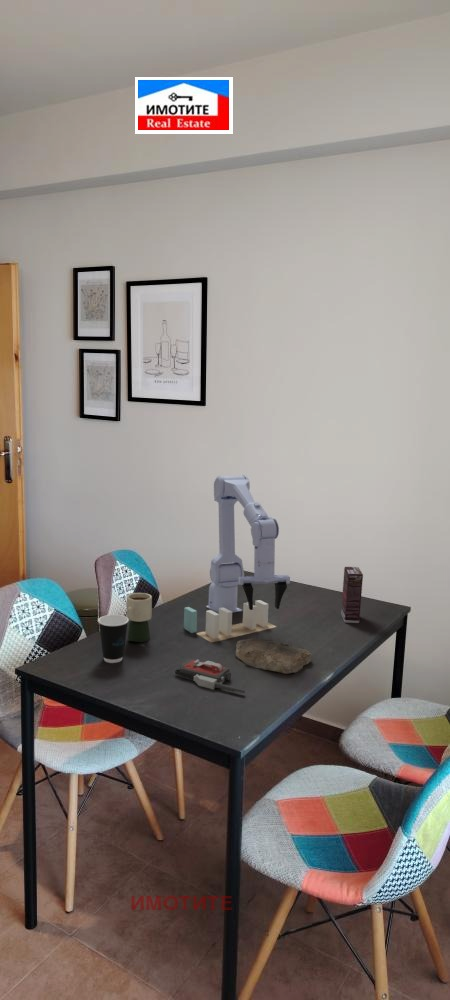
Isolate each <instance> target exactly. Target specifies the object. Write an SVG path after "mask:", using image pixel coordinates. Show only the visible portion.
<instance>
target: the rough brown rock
mask: <svg viewBox="0 0 450 1000" xmlns="http://www.w3.org/2000/svg"><path fill="white" fill-rule="evenodd" d="M235 648H236V649H235V655H236V657H237V659H239V660H240V661H242V662H243V664H244V665H247V666H249V667H252V668H256V669H261V670H264V671H271V672H276V673H277V672H278V673H279V674H286V675H287V674H295V673H297V672H299V671H301V670H303V667H304V666H307V665H308V664H309V663H311V662H312V656H313V654H312V652H311V651H309V650H307V649H306V648H300V647H296V646H291V645H289V644H286V643H281V642H276V641H267V640H263V639H257V638H245V639H240V640H238V641H237V642H236V645H235Z"/></svg>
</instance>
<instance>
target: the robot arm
mask: <svg viewBox="0 0 450 1000" xmlns="http://www.w3.org/2000/svg"><path fill="white" fill-rule="evenodd" d="M250 487H251V486H250V480H249V478H248V477H247V475H245V474H244V475H243V474H242V475H224V476H221V475H218V476H217V477H216V478H215V479H214V482H213V498H214V501H215V502H216V503H217V504H218V538H219V539H218V547H219V548H218V550H219V553H217V554H216V555H215V557H213V558H212V559H211V560H210V569H209V579H210V580H211V583H210V585H209V588H208V605H206V606H205V607H206V608H207V609H210V610H212V611H214V612H216V613H218V614H219V608H223V607H224V608H226V609H228V610H230V611H232V614H233V613H236V612H243V609H241V608H239V607H238V587H239V586H241V587H242V590H243V591H244V593H245V596H246V599H247V602H248V605H249V609H250V610H253V605H254V603H253V600H254V599H253V597H254V596H253V595H254V586H253V585H261V584H262V585H263V584H264V585H265V584H267V585H268V584H274V591H275V592H274V593H275V594H274V595H275V596H274V597H275V598H274V607H275V609H277V610H280V605H281V601H282V598H283V596H284V593H285V591H286V590H287V589H288V585H287V584H290V583H291V576H290V575H289V574H288V575H287V574H285V575H284V574H283V575H280V574H275V565H276V563H275V558H276V557H275V554H276V553H275V552H276V551H275V548H276V547H275V546H276V545H275V542H276V539H277V538H278V536H279V533H280V527H279V523H278V521H277V519H276V518H273V517H272V516H270V517H269V515H268V514H267V512H266V510H264V508H263V506H262V504H260V503H259V502H255V500H254V498H253V495H252V494H251V491H250ZM237 502H239V504H240V505H241V506H242V508H243V511H242V512H243V516H244V517H245V519H246V520H247V521H246V522H248V524H249V526H250V534H251V538H252V545H253V547H254V556H253V557H254V561H253V562H254V566H253V568H254V569H253V571H254V573H253V575H248V576H245V570H244V569H245V568H244V566H243V565H244V564H243V560H242V558H241V557H239V556H238V555H237V554H236V547H235V546H236V540H235V539H236V538H235V535H236V534H235V532H236V531H235V529H236V528H235V504H236V503H237Z"/></svg>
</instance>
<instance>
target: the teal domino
mask: <svg viewBox="0 0 450 1000" xmlns="http://www.w3.org/2000/svg"><path fill="white" fill-rule="evenodd" d="M183 610H184V612H183V629H184V630H185V631H188V632H189V633H190V634H194V633H195V634H196V633H198V632H197V630H198V629H197V628H198V627H197V625H198V623H197V622H198V611H197V610H196V609H194V608H192V607H190V606H187V607H184V609H183Z"/></svg>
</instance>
